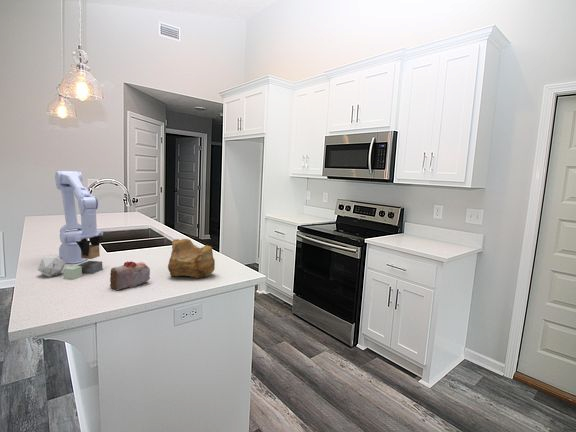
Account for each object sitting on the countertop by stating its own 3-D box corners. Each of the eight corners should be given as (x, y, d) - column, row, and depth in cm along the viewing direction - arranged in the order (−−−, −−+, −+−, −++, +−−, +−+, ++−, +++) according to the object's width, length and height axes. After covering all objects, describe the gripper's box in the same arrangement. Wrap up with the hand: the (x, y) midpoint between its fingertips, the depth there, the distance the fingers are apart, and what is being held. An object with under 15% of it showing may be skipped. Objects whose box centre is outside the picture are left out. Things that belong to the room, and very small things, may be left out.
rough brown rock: (153, 275, 145) (151, 244, 142) (181, 264, 160) (180, 235, 156) (191, 288, 135) (190, 254, 131) (218, 274, 149) (217, 243, 145)
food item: (141, 278, 139) (140, 256, 138) (151, 283, 134) (151, 260, 133) (108, 287, 128) (107, 263, 127) (118, 292, 123) (117, 267, 122)
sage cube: (64, 278, 135) (63, 268, 134) (72, 275, 139) (72, 265, 139) (73, 279, 134) (73, 269, 134) (81, 276, 139) (81, 266, 138)
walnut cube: (81, 258, 142) (80, 247, 142) (89, 255, 147) (89, 244, 147) (91, 259, 142) (91, 247, 141) (99, 256, 147) (99, 245, 146)
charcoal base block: (79, 273, 143) (78, 264, 142) (89, 269, 149) (88, 260, 148) (93, 274, 142) (92, 265, 142) (102, 270, 149) (102, 261, 148)
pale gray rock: (33, 279, 134) (42, 263, 131) (37, 264, 140) (45, 248, 137) (57, 283, 139) (66, 267, 136) (60, 268, 146) (68, 252, 143)
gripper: (84, 227, 135) (86, 258, 137) (108, 222, 149) (109, 250, 151) (69, 226, 136) (71, 257, 138) (94, 221, 150) (95, 249, 152)
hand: (90, 253), depth 144 cm, fingers closed on walnut cube, 5 cm apart
